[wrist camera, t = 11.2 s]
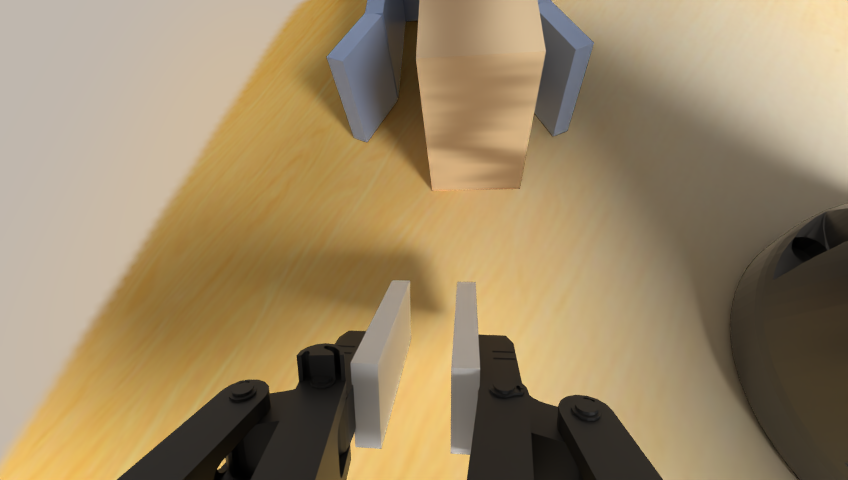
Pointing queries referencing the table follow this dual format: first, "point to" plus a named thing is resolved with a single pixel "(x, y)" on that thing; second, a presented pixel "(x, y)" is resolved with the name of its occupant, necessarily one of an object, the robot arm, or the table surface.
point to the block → (478, 89)
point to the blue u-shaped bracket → (382, 59)
